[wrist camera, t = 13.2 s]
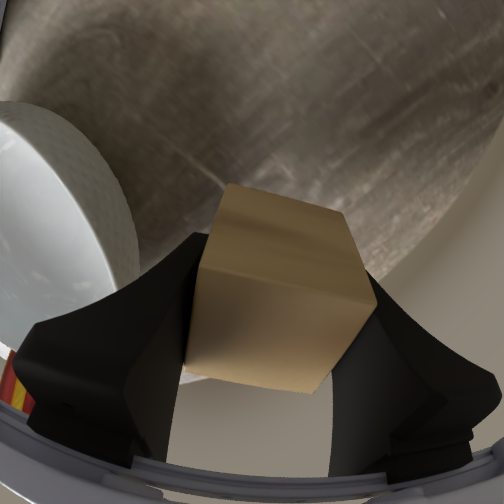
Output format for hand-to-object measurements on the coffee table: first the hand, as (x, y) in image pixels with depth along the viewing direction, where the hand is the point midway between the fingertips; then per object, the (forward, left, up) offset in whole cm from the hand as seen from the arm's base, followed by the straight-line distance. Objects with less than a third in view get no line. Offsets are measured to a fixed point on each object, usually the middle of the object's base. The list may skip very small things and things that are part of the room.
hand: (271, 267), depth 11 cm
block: (0, 0, -1) cm, 1 cm away
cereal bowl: (-4, +14, -7) cm, 16 cm away
